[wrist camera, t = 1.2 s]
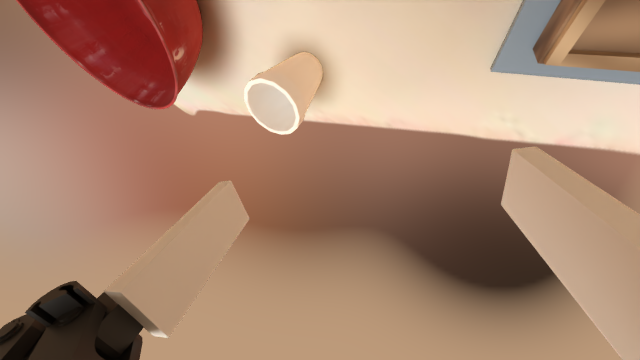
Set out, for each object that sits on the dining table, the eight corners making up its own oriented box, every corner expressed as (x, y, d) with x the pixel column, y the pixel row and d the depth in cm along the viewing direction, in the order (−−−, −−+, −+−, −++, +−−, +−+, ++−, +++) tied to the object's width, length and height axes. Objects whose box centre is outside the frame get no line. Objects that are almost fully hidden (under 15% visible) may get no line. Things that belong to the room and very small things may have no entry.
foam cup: (333, 95, 43) (304, 138, 36) (291, 93, 47) (257, 131, 39) (326, 40, 36) (289, 79, 29) (278, 42, 40) (233, 77, 32)
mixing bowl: (201, -131, 27) (73, -140, 19) (248, 87, 50) (201, 129, 41) (40, -147, 33) (-118, -159, 24) (149, 57, 56) (89, 88, 47)
